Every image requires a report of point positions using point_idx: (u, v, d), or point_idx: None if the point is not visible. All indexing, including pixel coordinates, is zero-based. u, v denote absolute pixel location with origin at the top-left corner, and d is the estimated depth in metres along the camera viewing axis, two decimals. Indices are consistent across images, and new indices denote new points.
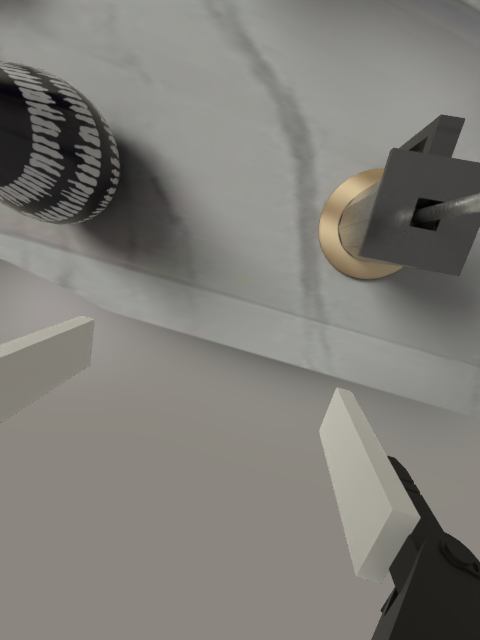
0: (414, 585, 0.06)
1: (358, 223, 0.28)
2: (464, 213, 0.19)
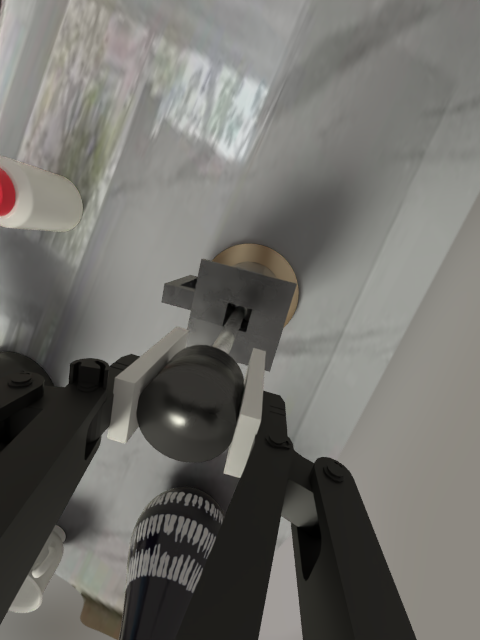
0: (245, 472, 0.07)
1: None
2: (235, 337, 0.21)
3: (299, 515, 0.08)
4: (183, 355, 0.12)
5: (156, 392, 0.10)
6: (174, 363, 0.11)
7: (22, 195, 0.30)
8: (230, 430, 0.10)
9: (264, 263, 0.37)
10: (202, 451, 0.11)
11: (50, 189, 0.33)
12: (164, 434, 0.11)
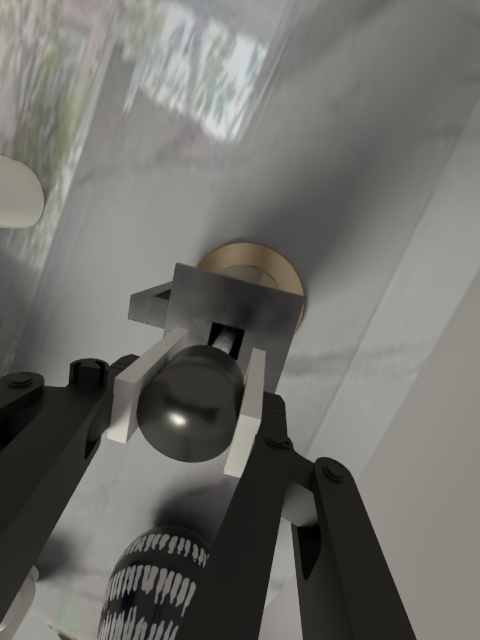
0: (245, 472, 0.07)
1: None
2: (235, 337, 0.21)
3: (299, 515, 0.08)
4: (183, 355, 0.12)
5: (156, 392, 0.10)
6: (174, 363, 0.11)
7: None
8: (230, 430, 0.10)
9: (262, 266, 0.30)
10: (202, 451, 0.11)
11: None
12: (164, 434, 0.11)
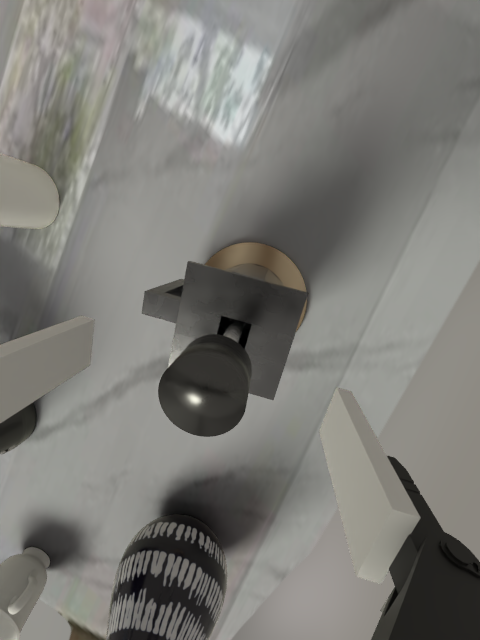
0: (414, 585, 0.06)
1: None
2: (242, 331, 0.22)
3: None
4: (198, 342, 0.13)
5: (176, 373, 0.12)
6: (191, 349, 0.12)
7: None
8: (241, 407, 0.12)
9: (267, 265, 0.32)
10: (216, 426, 0.12)
11: (16, 178, 0.28)
12: (182, 411, 0.12)
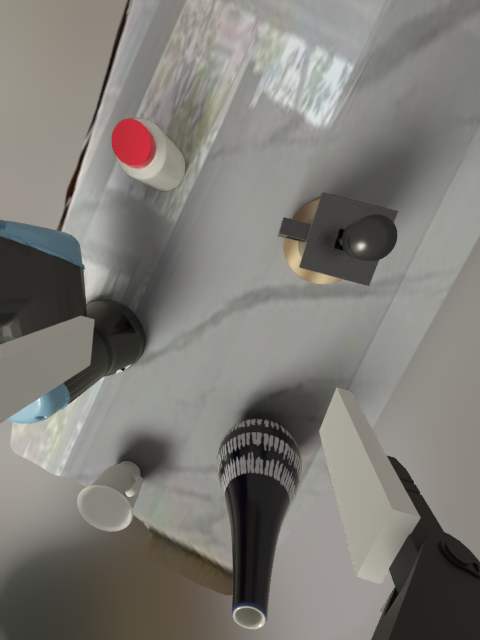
0: (414, 585, 0.06)
1: None
2: None
3: None
4: None
5: (362, 225, 0.24)
6: None
7: (159, 150, 0.37)
8: (394, 241, 0.24)
9: None
10: (378, 254, 0.24)
11: (172, 149, 0.40)
12: (361, 247, 0.24)
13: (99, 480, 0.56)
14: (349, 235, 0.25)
